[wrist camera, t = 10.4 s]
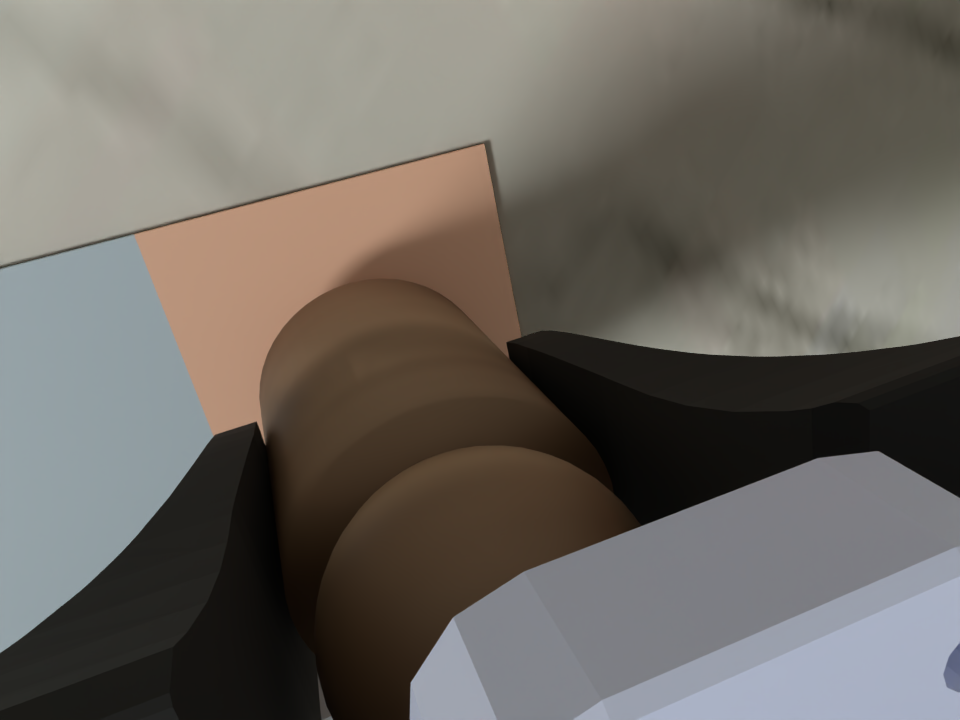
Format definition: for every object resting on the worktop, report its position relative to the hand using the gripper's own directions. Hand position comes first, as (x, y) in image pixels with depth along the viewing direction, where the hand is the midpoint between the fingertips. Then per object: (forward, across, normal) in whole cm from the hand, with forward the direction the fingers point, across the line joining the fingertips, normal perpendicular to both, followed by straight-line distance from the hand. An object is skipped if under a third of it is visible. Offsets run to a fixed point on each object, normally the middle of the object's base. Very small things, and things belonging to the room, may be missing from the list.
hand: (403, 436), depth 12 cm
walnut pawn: (+2, 0, 0) cm, 2 cm away
